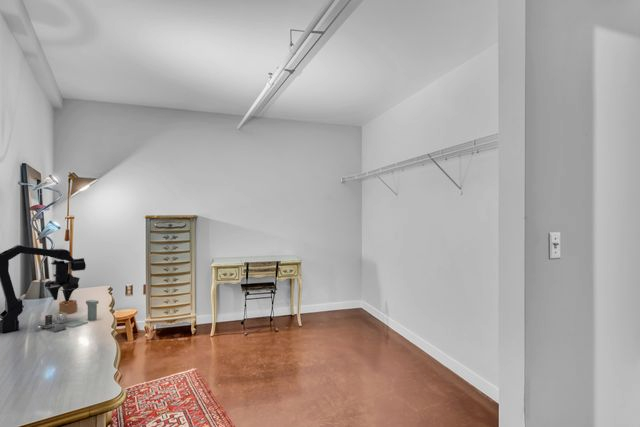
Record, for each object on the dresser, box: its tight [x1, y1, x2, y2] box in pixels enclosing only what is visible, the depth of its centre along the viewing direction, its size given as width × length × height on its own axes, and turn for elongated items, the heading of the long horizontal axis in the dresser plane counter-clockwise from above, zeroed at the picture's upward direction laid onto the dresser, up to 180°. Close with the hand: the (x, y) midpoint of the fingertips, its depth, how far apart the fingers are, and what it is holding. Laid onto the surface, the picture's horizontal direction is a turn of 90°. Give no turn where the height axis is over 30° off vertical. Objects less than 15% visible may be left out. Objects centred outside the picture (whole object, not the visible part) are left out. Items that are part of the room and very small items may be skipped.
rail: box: [38, 324, 67, 333], centre depth 171 cm, size 5×13×2 cm, turn 69°
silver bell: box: [55, 312, 68, 325], centre depth 182 cm, size 5×5×6 cm
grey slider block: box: [34, 314, 56, 330], centre depth 170 cm, size 8×4×6 cm, turn 159°
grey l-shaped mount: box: [62, 299, 99, 329], centre depth 182 cm, size 14×8×10 cm, turn 159°
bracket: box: [58, 299, 78, 315], centre depth 205 cm, size 18×8×7 cm, turn 34°
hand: (61, 300), depth 183 cm, fingers open, 9 cm apart
